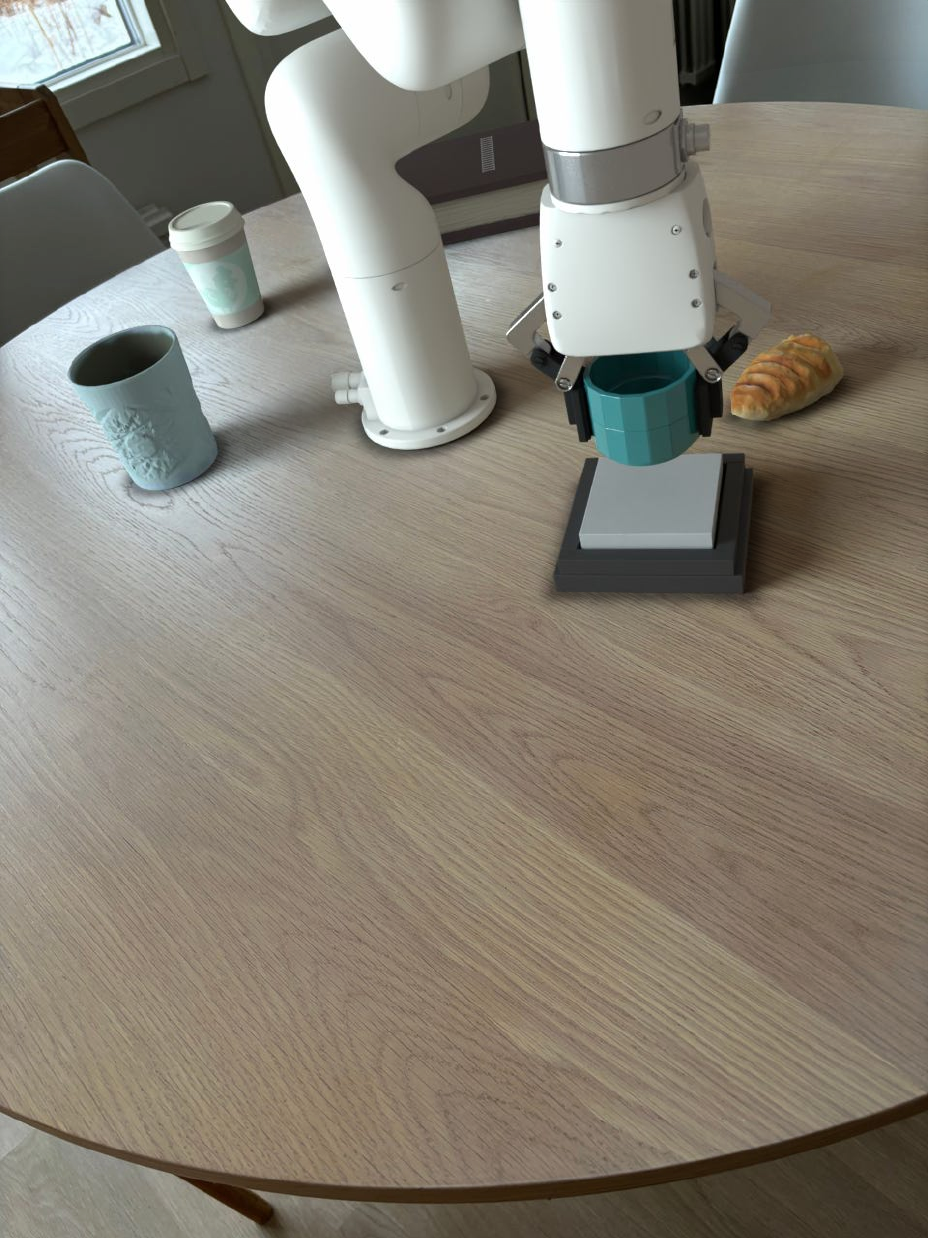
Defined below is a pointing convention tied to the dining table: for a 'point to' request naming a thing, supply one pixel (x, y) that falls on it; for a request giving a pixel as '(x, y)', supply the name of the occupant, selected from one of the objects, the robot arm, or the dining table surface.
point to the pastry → (786, 378)
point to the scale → (663, 566)
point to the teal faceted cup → (642, 406)
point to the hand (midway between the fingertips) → (646, 426)
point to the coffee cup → (218, 261)
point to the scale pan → (654, 504)
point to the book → (481, 180)
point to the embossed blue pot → (146, 405)
